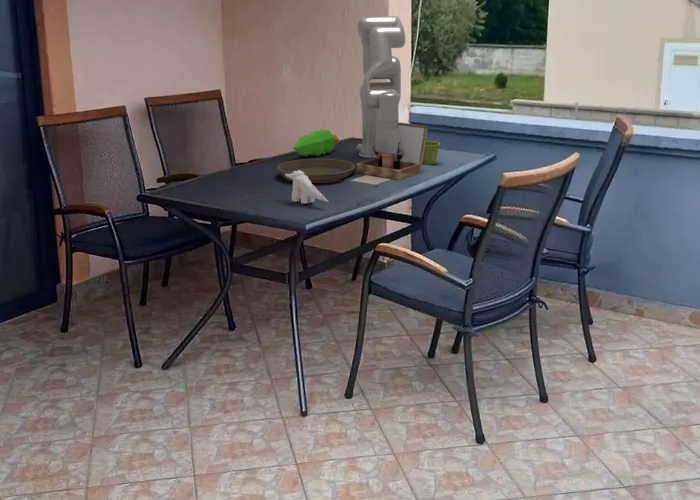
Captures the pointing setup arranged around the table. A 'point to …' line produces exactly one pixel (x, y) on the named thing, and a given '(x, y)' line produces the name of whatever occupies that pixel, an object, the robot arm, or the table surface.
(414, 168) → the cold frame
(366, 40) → the robot arm
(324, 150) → the decorative tree
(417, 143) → the lid
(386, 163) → the tan rounded knob
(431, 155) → the plant pot
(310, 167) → the plant saucer
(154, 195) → the table surface
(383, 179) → the sandstone tile
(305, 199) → the dinosaur statue
